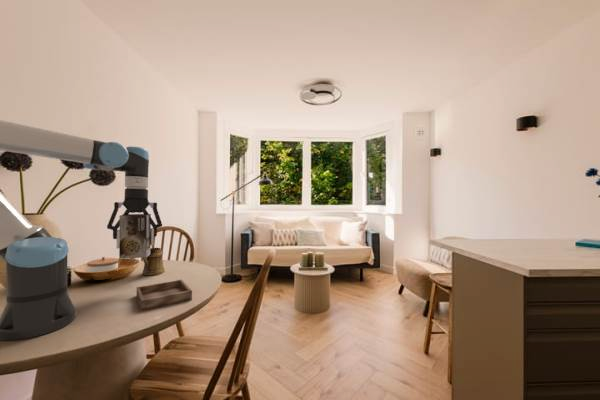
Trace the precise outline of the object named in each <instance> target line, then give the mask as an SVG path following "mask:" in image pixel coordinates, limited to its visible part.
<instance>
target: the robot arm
mask: <svg viewBox="0 0 600 400" xmlns="http://www.w3.org/2000/svg"><path fill="white" fill-rule="evenodd" d="M0 151H1V152H2V151H4V152H10V153H15V154H17V153H18V154H23V155H28V156H29V155H30V156H34V157H35V156H37V157H42V158H48V159H56V160H62V161H67V162H74V163H81V164H83V167H84V168H85V169H87V170H89V169H90V170H94V171H111V172H123V173H124V174H125V175H124V187H125V189H124V200H123V201H122V202H121V201H120V202H119V201H118V202H117V201H115V202H113V206H114V207H113V210H112V214H110V215H111V216H110V218H109V221H108V223H107V226H106V228H107V230H111V231H112V239H113V240H116V249H119V243H120V218H119V219H117V220H118V221H116V223H115V224H114V222H115V219H116V217H117V213H118V212H119V209H121V208H122V206H123V207H125V209H126V210H125V211H124V212H123V213H122V215H128V214H130V213H131V214H136V213H137V214H149V212H148V211H147V208H148V207H149V206H150V208H151V209H152V212H153V214H154V217H155V221H156V223H155V221H154V220H153V218H152V217H150V215H149V222H150V224H151V233H150V247H152V246H153V247H154V243H155V241H154V238H156V237H157V235H158V228H160V227H161V228H162V227H163V223H162V221H161V217H160V213H159V211H158V203H157V202H155V201H154V202H149V190H148V189H147V188H149V165H150V164H149V163H150V160H149V159H150V158H149V157H150V155H149V151H148V149H146V148H144V147H140V146H126V147H125V146H124V145H123V144H121V143H119V142H115V141H108V142H106V141H105V142H104V141H101V140H97V139H92V138H91V139H90V138H86V137H83V136H82V137H81V136H77V135H72V134H68V133H67V134H66V133H63V132H58V131H55V130H54V131H52V130H49V129H43V128H39V127H35V126H30V125H27V124H26V125H25V124H19V123H15V122H11V121H6V120H2V119H0ZM113 224H114V225H113ZM68 253H69V246H68V242H67V241H66V240H65V239H63V238H61V237H53V236H52V235H51V234H50V233H49V232H48V231H47V229H45V228H44V226H43V225H35V224H33V223H31V221H29V219H27V217H25V215H24V214H22V213H21V212H20V210H19V209H18V208H17V207H16V206H15V205H14V204H13V203H12V202H11V201H10V200H9V199H8V198H7V196H5V195H4V194H3V193H2V191H1V190H0V258H1V260H2V261H4V262H5V264H6V265H5V266H6V268H5V269H6V272H5V275H6V283H5V284H6V290H5V291H6V294H5V295H6V300H5V306H4V308H3V311H2V313H1V315H0V341H18V340H25V339H30V338H34V337H38V336H39V337H40V336H43V335H46V334H49V333H52V332H55V331H58V330H60V329H62V328H64V327H66V326H67V325H70V324H71V323H72V322H73V321H75V319H76V308H75V306H74V304H73V301H72V300H71V297H70V295H69V292H68Z"/></svg>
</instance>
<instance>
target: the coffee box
mask: <svg viewBox="0 0 600 400" xmlns="http://www.w3.org/2000/svg"><path fill="white" fill-rule="evenodd" d="M149 215H150V217H151V216H152V215H151V213H148V214H143V213H131V214H130V213H129V214H128V215H123V214H121V215H119V217H118V218H119V219H120V226H119V230H120V239H119V248H118V250H119V252H118V253H119V255H118V257H119V258H118V260H121V259H122V260H123V259H124V260H125V259H137V258H138V259H139V258H141V259H143V257H148V256H149V255H150V248H151V245H150V235H151V228H152V225H151V224H150V222H149ZM151 218H152V217H151Z"/></svg>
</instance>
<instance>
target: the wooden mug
mask: <svg viewBox="0 0 600 400" xmlns="http://www.w3.org/2000/svg"><path fill="white" fill-rule="evenodd" d="M163 260H164V259H163V251H162V248H160V247H150V255H149V256H148V257H143V258H142V261H143V264H144V266H143V270H142V275H144V276H149V277H150V276H158V275H162V274H163V273H165V271H166V270H165V267H164V261H163Z"/></svg>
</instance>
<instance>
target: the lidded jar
mask: <svg viewBox="0 0 600 400" xmlns="http://www.w3.org/2000/svg"><path fill="white" fill-rule="evenodd" d="M119 260H120V259H119V258H115V257H105V256H101V258H97V259H94V260H93V259H91V260H89V261H88V262H86V263H87V264H86V266H87V273H88V272H102V271H109V270H113V269H116V268H118V269H119Z"/></svg>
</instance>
